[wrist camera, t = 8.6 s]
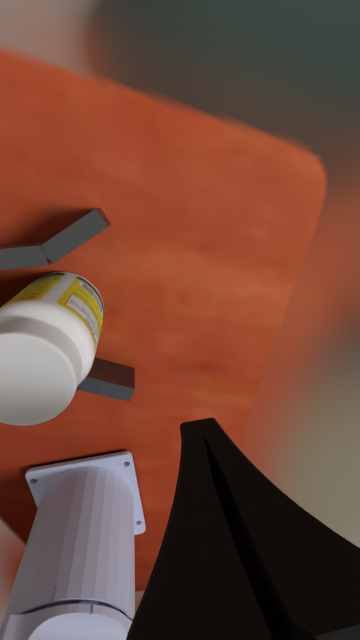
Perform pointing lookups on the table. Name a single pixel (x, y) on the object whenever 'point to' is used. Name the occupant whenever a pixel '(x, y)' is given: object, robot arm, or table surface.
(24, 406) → the supplement bottle
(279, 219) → the table surface
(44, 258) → the u holder
